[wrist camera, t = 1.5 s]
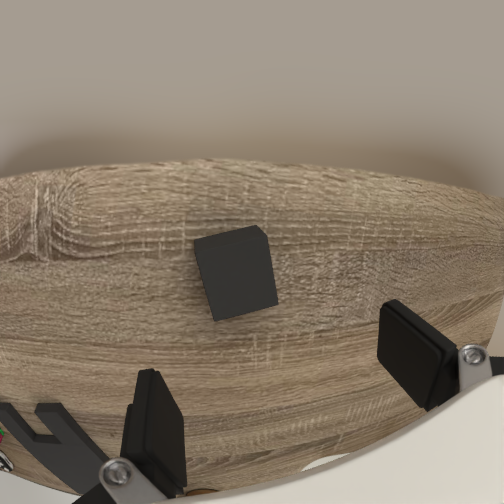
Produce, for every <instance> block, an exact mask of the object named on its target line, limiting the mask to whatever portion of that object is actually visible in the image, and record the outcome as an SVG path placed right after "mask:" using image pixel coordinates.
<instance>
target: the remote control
mask: <svg viewBox="0 0 504 504" xmlns="http://www.w3.org/2000/svg"><path fill="white" fill-rule="evenodd" d="M0 468H3V469H5V470H7V471H12V469H13V465H12V463H11V462H10V461H9V459H8V458H7V457H6V456H5V454H4V453H3V452H1V451H0Z"/></svg>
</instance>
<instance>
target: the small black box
mask: <svg viewBox="0 0 504 504" xmlns="http://www.w3.org/2000/svg"><path fill="white" fill-rule="evenodd" d="M194 243H195V255H196V259H197V263H198V266H199V270H200V274H201V277H202V281H203V285H204V288H205V292H206V295H207V299H208V302H209V306H210V309H211V312H212V316H213V319H214V321H219V320H223V319H227V318H231V317H235V316H239V315H243V314H246V313H250V312H254V311H258V310H261V309H265V308H269V307H272V306H276V305H278V304H279V303H278V297H277V291H276V285H275V279H274V274H273V268H272V262H271V256H270V250H269V245H268V239H267V235H266V234H265V233H264V232H263V231H262V230H261V229H260V228H259V227H258V226H257V225H254V226H249V227H245V228H241V229H237V230H232V231H228V232H224V233H220V234H216V235H212V236H207V237H203V238H199V239H195V240H194Z"/></svg>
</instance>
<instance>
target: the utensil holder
mask: <svg viewBox="0 0 504 504" xmlns="http://www.w3.org/2000/svg"><path fill="white" fill-rule="evenodd" d="M214 492H218V491H215V490H209V489H201V490H194V491H191V492H189V493H187V495H186V497H187V496H194V495H200V494H207V493H214Z"/></svg>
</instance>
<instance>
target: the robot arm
mask: <svg viewBox="0 0 504 504" xmlns="http://www.w3.org/2000/svg"><path fill="white" fill-rule="evenodd" d="M456 346H457V345H456V344H454V343H453V342H452V341H451V340H449V339H448V338H447V337H445V336H444V335H443V334H442V333H440V332H439V331H438V330H436V329H435V328H434V327H433V326H431V325H430V324H429V323H427V322H426V321H425V320H423V319H422V318H421V317H420V316H418V315H417V314H416V313H414V312H413V311H412V310H410V309H409V308H408V307H406V306H405V305H404V304H402V303H401V302H399V301H398V300H396V299H393V300H391V301H388V302H386V303H384V304H383V305H382V308H381V309H380V318H379V335H378V348H377V358H378V360H379V362H380V363H381V364H382V365H383V366H384V368H385V369H386V370H387V371H388V372H389V373H390V374H391V375H392V377H393V378H394V379H395V380H396V381H397V382H398V383H399V385H400V386H401V387H402V388H403V389H404V390H405V391H406V393H407V394H408V395H409V396H410V397H411V398H412V399H413V401H414V402H415V403H416V404H417V405H418V406H419V407H420V408H424V409H425V410H426V411H427V412H428V411H430V410H431V409H433V408H434V407H436V406H438V407H437V408H435V409H434V410H432V411H431V412H429V413H427V414H426V415H424V416H423V417H421V418H419V419H418V420H416V421H414V422H412V423H411V424H409V425H407V426H405V427H404V428H402V429H400V430H398V431H396V432H394V433H393V434H391V435H389V436H387V437H385V438H383V439H381V440H379V441H377V442H375V443H373V444H370V445H368V446H366V447H364V448H362V449H360V450H357V451H355V452H353V453H350V454H348V455H346V456H343V457H341V458H338V459H336V460H333V461H331V462H328V463H326V464H323V465H320V466H317V467H314V468H312V469H308V470H305V471H302V472H299V473H296V474H293V475H289V476H286V477H282V478H279V479H275V480H271V481H267V482H263V483H259V484H255V485H250V486H246V487H241V488H236V489H231V490H226V491H220V492H214V493H207V494H200V495H194V496H187V497H180V498H176V495H178V494H184V490H183V487H187V475H186V460H185V443H184V420H183V416H182V413H181V411H180V409H179V408H178V406H177V404H176V402H175V400H174V399H173V397H172V395H171V393H170V391H169V389H168V387H167V385H166V384H165V382H164V380H163V378H162V376H161V374H160V372H159V371H155V370H154V369H153V368H151V369H145V370H140V371H139V372H138V377H137V383H136V388H135V394H134V400H133V404H129V405H128V408H127V413H126V418H125V425H124V431H123V438H122V445H121V453H120V457H115V458H111V459H109V460H107V461H106V462H105V463H104V464H103V465H102V466H101V468H100V470H99V479H100V481H101V482H100V483H98V484H97V485H96V486H95V487H93V488H92V489H91V490H89V491H88V492H87V493H85V494H84V495H83V496H81V497H80V498H79V499H77V500H76V501H75V502H74V503H72V504H504V357H490V356H489V354H488V352H487V351H486V349H485V348H484V347H482V346H481V345H478V344H466V345H464V346H462V347H461V348H460V350H458V349H457V348H456Z"/></svg>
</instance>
